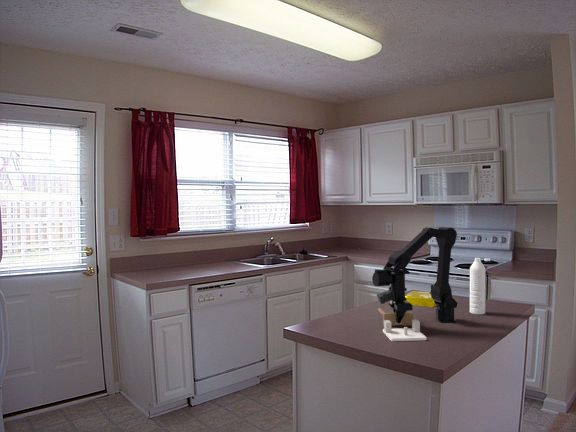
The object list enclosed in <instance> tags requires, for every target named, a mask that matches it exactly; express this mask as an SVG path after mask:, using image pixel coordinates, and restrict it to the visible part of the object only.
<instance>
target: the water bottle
mask: <svg viewBox="0 0 576 432" xmlns="http://www.w3.org/2000/svg"><path fill="white" fill-rule="evenodd" d="M484 262H491V258H484ZM469 313H470V314H473V315H485V314H486V267H485V266H484V264H483V262H482V261H481V258H480V257H474V261H473V263H472V264H471V265H470V267H469Z"/></svg>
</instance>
